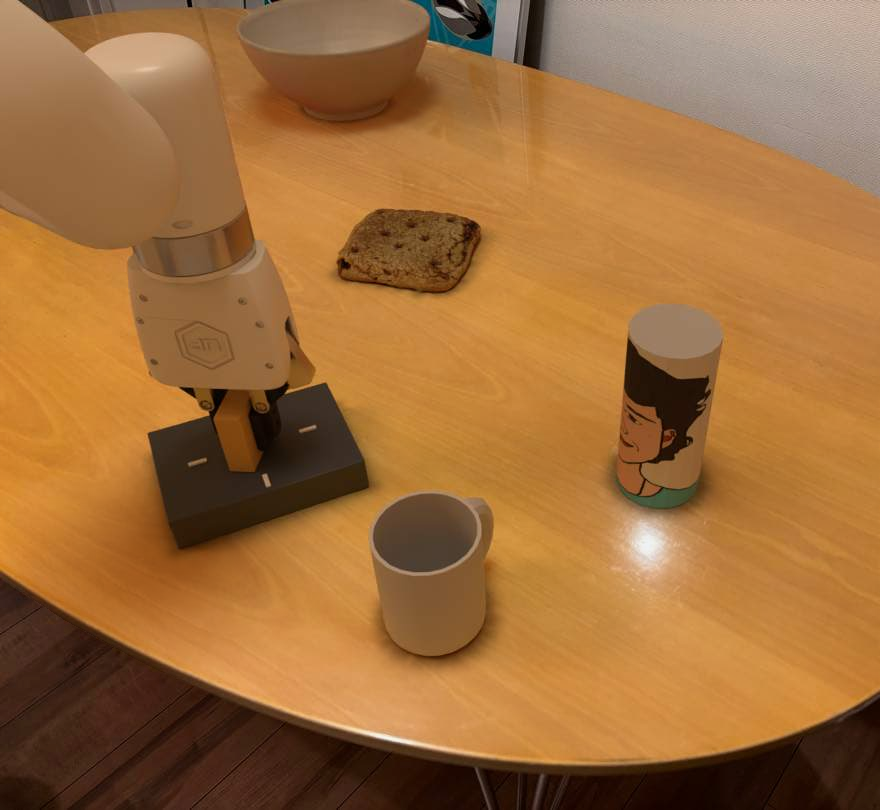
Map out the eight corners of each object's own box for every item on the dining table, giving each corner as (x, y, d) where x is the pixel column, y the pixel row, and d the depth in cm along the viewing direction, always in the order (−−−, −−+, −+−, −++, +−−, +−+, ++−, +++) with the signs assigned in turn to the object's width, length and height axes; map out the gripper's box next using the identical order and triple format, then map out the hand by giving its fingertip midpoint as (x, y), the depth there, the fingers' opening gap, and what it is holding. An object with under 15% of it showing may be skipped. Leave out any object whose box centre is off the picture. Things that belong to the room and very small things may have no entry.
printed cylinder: (639, 440, 76) (654, 293, 66) (711, 469, 73) (738, 321, 64) (601, 487, 72) (611, 338, 62) (676, 520, 69) (699, 370, 59)
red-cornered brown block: (254, 472, 69) (238, 417, 65) (229, 471, 69) (211, 416, 65) (276, 421, 73) (262, 367, 70) (253, 420, 73) (237, 366, 70)
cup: (362, 625, 62) (344, 541, 56) (454, 536, 68) (446, 452, 62) (442, 678, 59) (431, 595, 53) (530, 580, 65) (529, 495, 59)
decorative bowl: (453, 76, 140) (448, -4, 133) (410, 148, 120) (401, 58, 112) (292, 67, 143) (277, -12, 135) (223, 136, 123) (202, 47, 115)
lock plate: (178, 549, 67) (167, 521, 65) (157, 458, 74) (146, 431, 72) (369, 486, 72) (364, 458, 70) (331, 407, 79) (325, 380, 77)
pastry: (310, 243, 101) (305, 219, 99) (444, 204, 108) (442, 181, 106) (373, 316, 90) (369, 291, 88) (518, 268, 97) (517, 244, 95)
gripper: (49, 261, 56) (135, 468, 68) (297, 269, 55) (339, 476, 67) (100, 204, 62) (171, 404, 74) (325, 211, 61) (360, 412, 73)
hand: (251, 437), depth 70 cm, fingers closed on red-cornered brown block, 2 cm apart
